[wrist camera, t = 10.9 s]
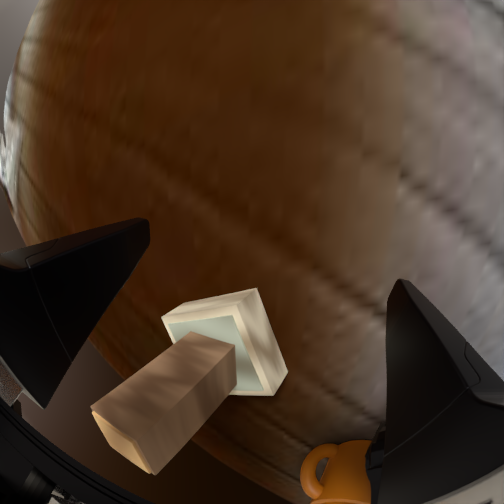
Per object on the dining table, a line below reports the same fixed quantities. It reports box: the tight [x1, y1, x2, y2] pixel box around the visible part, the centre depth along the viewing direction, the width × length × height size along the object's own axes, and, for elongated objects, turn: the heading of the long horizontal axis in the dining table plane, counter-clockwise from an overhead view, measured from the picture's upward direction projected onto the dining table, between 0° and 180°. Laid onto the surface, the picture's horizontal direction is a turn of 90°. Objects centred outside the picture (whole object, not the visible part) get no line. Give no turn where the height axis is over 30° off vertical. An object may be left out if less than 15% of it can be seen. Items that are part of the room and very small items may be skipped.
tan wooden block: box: [91, 331, 237, 475], centre depth 21 cm, size 5×5×13 cm
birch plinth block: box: [161, 288, 288, 396], centre depth 28 cm, size 10×10×4 cm
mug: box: [300, 440, 372, 504], centre depth 24 cm, size 9×12×9 cm
